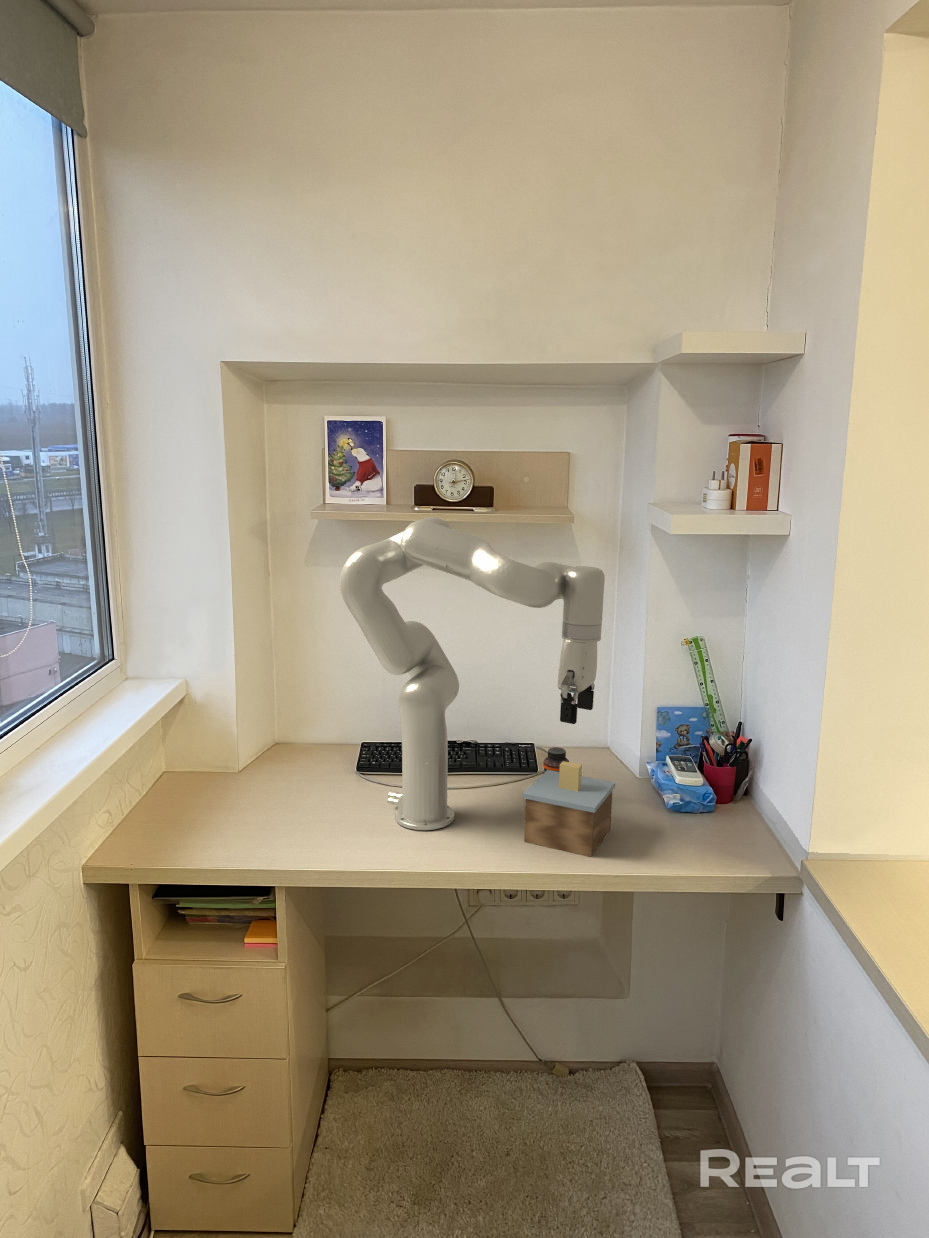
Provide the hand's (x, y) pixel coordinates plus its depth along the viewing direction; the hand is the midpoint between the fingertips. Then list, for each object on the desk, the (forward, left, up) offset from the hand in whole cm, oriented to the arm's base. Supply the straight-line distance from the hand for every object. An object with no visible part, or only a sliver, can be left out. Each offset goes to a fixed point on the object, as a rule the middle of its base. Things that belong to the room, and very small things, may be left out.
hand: (576, 715), depth 170 cm
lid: (-1, +1, -17) cm, 17 cm away
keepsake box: (-1, +1, -26) cm, 26 cm away
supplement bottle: (-10, +18, -26) cm, 33 cm away
